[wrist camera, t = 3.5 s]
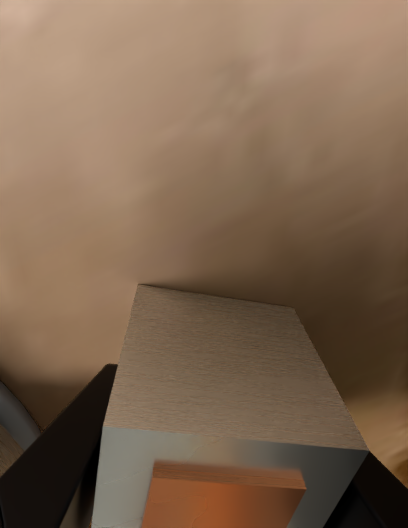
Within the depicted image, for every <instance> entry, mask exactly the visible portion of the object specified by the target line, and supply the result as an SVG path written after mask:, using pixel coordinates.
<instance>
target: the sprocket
mask: <svg viewBox="0 0 408 528" xmlns="http://www.w3.org/2000/svg"><path fill="white" fill-rule="evenodd" d="M23 452H24V450H23V448H22V447H21V446H20V445H19V444H18V443H17V442H16V441H15V439H14V438H13V437H12V436H11V435H10V434H9V433H8V432H7V430H6V429H5V428H4V427H3V426H2V425H1V424H0V477H1V476H2V475H3V474H4V473H5V471H6V470H7V469H8V468H9V467H10V466H11V465H12V464H13V463H14V462H15V461H16V460H17V459H18V458H19V457H20V456H21V454H22V453H23Z"/></svg>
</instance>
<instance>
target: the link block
mask: <svg viewBox="0 0 408 528" xmlns="http://www.w3.org/2000/svg"><path fill="white" fill-rule="evenodd" d="M368 453H369V449H368V447H367V445H366V443H365V441H364V439H363V438H362V436H361V434H360V432H359V430H358V428H357V426H356V424H355V423H354V421H353V419H352V417H351V415H350V413H349V411H348V409H347V408H346V406H345V404H344V402H343V400H342V398H341V396H340V394H339V393H338V391H337V389H336V387H335V385H334V383H333V381H332V379H331V378H330V376H329V374H328V372H327V370H326V368H325V366H324V364H323V363H322V361H321V359H320V357H319V355H318V353H317V351H316V349H315V348H314V346H313V344H312V342H311V340H310V338H309V336H308V334H307V333H306V331H305V329H304V327H303V325H302V323H301V321H300V319H299V318H298V316H297V314H296V312H295V310H294V308H292V307H286V306H279V305H272V304H266V303H259V302H252V301H246V300H239V299H232V298H226V297H219V296H212V295H206V294H199V293H192V292H186V291H179V290H172V289H166V288H159V287H152V286H146V285H139V284H138V286H137V290H136V294H135V298H134V302H133V306H132V310H131V314H130V318H129V323H128V327H127V331H126V335H125V339H124V343H123V347H122V351H121V355H120V359H119V363H118V367H117V371H116V375H115V379H114V383H113V387H112V391H111V395H110V399H109V404H108V408H107V412H106V416H105V420H104V424H103V430H102V439H101V447H100V456H99V465H98V474H97V482H96V491H95V500H94V508H93V517H92V526H91V528H323V526H324V525H325V523H326V522H327V520H328V518H329V517H330V515H331V513H332V512H333V510H334V508H335V507H336V505H337V503H338V502H339V500H340V499H341V497H342V495H343V494H344V492H345V490H346V489H347V487H348V485H349V484H350V482H351V480H352V479H353V477H354V476H355V474H356V472H357V471H358V469H359V467H360V466H361V464H362V462H363V461H364V459H365V457H366V456H367V454H368Z"/></svg>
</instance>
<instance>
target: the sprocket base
mask: <svg viewBox="0 0 408 528" xmlns="http://www.w3.org/2000/svg"><path fill="white" fill-rule="evenodd" d="M0 424H1V425H2V426H3V427H4V428H5V429H6V430H7V432H8V433H9V434H10V435H11V436H12V437H13V438H14V439H15V441H16V442H17V443H18V444H19V445H20V446H21V447H22V448H23V450H24V451H25V450H26V449H27V448H28V447H29V446H30V445H31V444H32V443H33V442H34V441H35V440H36V439H37V437H38V436H39V435H40V434H41V432H40V430H39V428H38V426H37V425H36V423H35V422H34V420H33V419H32V417H31V416H30V415H29V413H28V412H27V410H26V409H25V408H24V406H23V405H22V404H21V403H20V401H19V400H18V399H17V398H16V397H15V396H14V395H13V394H12V393H11V392H10V391H9V390H8V389H7V387H6V386H5V385H4V384H3V383H2V382H1V381H0Z"/></svg>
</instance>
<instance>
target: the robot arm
mask: <svg viewBox="0 0 408 528" xmlns="http://www.w3.org/2000/svg"><path fill="white" fill-rule="evenodd" d="M117 367H118V364H107V365H105V366H104V367H103V368H102V370H101V371H100V372H99V373H98V374H97V375H96V376H95V377H94V378H93V379H92V380H91V381H90V382H89V383H88V384H87V385H86V387H85V388H84V389H83V390H82V391H81V392H80V393H79V394H78V395H77V396H76V397H75V398H74V399H73V400H72V401H71V402H70V404H69V405H68V406H67V407H66V408H65V409H64V410H63V411H62V412H61V413H60V414H59V415H58V416H57V417H56V418H55V419H54V421H53V422H52V423H51V424H50V425H49V426H48V427H47V428H46V429H45V430H44V431H43V432H42V433H41V434H40V435H39V436H38V437H37V439H36V440H35V441H34V442H33V443H32V444H31V445H30V446H29V447H28V448H27V449H26V450H25V451H24V452H23V453H22V454H21V456H20V457H19V458H18V459H17V460H16V461H15V462H14V463H13V464H12V465H11V466H10V467H9V468H8V469H7V470H6V471H5V473H4V474H3V475H2V476H1V477H0V528H88V527H89V524H90V521H91V518H92V514H93V508H94V500H95V491H96V482H97V474H98V465H99V456H100V447H101V439H102V430H103V424H104V420H105V416H106V412H107V408H108V404H109V399H110V395H111V391H112V387H113V383H114V379H115V375H116V371H117ZM323 528H408V489H407V488H406V487H405V486H404V485H403V484H402V483H401V482H400V481H399V480H398V479H397V478H396V477H395V476H394V475H393V474H392V473H391V472H390V471H389V470H388V469H387V468H386V467H385V466H384V465H383V464H382V463H381V462H380V461H379V460H378V459H377V458H376V457H375V456H374V455H373V454H372V453H371V452H370V451H369V453H368V454H367V456H366V457H365V459H364V461H363V462H362V464H361V466H360V467H359V469H358V471H357V472H356V474H355V476H354V477H353V479H352V480H351V482H350V484H349V485H348V487H347V489H346V490H345V492H344V494H343V495H342V497H341V499H340V500H339V502H338V503H337V505H336V507H335V508H334V510H333V512H332V513H331V515H330V517H329V518H328V520H327V522H326V523H325V525H324V526H323Z"/></svg>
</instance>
